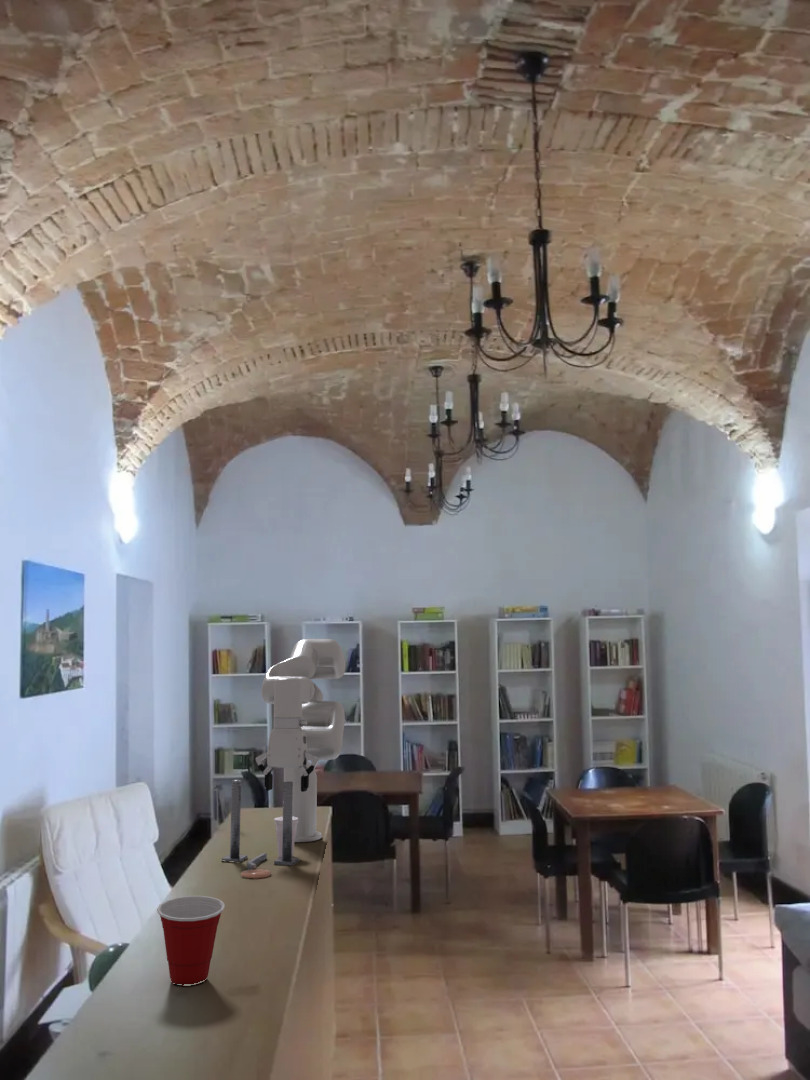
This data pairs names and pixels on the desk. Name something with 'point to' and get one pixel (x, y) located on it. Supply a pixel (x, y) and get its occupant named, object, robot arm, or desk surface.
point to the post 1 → (235, 824)
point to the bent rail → (256, 861)
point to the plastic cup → (190, 936)
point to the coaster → (256, 873)
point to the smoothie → (279, 832)
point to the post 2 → (287, 827)
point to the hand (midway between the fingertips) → (286, 790)
